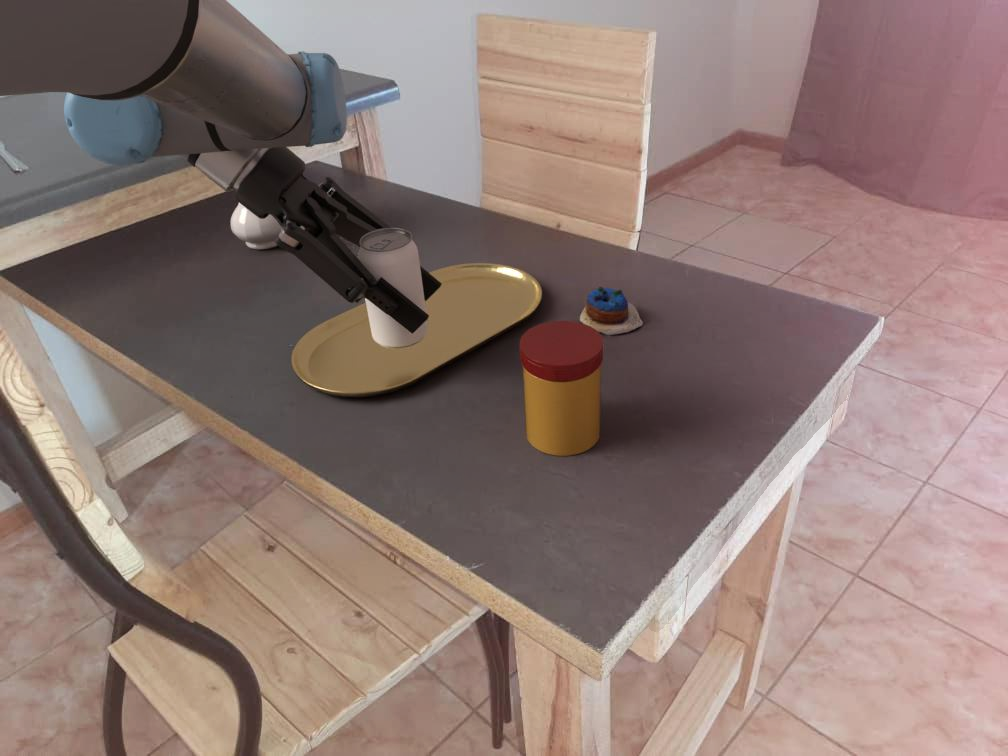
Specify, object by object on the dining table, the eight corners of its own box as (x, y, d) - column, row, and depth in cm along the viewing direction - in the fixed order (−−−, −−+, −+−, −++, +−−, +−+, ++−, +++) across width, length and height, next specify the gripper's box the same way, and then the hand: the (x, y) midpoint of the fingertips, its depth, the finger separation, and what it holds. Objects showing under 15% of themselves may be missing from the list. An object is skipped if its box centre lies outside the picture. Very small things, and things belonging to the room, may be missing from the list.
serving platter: (571, 301, 102) (571, 290, 101) (354, 425, 83) (351, 414, 82) (475, 260, 113) (474, 250, 113) (264, 362, 94) (261, 351, 93)
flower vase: (190, 253, 122) (138, 88, 107) (291, 214, 132) (255, 60, 117) (231, 277, 114) (181, 103, 99) (335, 234, 124) (303, 71, 110)
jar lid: (598, 384, 71) (599, 368, 70) (513, 379, 72) (512, 363, 71) (606, 338, 77) (606, 322, 76) (527, 333, 79) (527, 318, 78)
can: (439, 328, 90) (428, 232, 83) (405, 355, 86) (390, 257, 79) (396, 315, 93) (381, 222, 86) (360, 341, 89) (342, 245, 82)
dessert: (564, 310, 99) (589, 270, 97) (597, 323, 103) (621, 284, 101) (600, 342, 93) (627, 300, 91) (634, 354, 98) (660, 314, 96)
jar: (596, 459, 76) (597, 371, 70) (520, 453, 78) (515, 366, 72) (603, 412, 82) (604, 327, 76) (532, 407, 84) (528, 323, 78)
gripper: (270, 160, 89) (424, 287, 96) (195, 231, 74) (386, 376, 81) (305, 112, 86) (463, 248, 93) (233, 177, 70) (430, 334, 77)
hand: (427, 307), depth 87 cm, fingers closed on can, 6 cm apart
